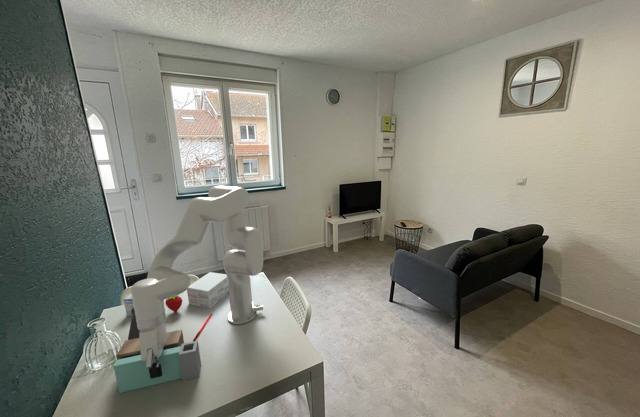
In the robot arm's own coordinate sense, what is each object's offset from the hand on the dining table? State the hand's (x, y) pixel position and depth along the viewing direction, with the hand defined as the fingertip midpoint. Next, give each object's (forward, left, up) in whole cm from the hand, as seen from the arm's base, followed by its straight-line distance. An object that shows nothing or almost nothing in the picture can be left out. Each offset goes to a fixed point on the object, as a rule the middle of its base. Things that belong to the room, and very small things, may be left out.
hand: (159, 367), depth 83 cm
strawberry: (+4, -41, -6) cm, 41 cm away
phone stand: (+13, -28, -6) cm, 31 cm away
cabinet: (+2, -6, -5) cm, 8 cm away
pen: (-9, -25, -6) cm, 27 cm away
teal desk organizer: (0, -1, -5) cm, 5 cm away
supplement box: (-10, -49, -6) cm, 51 cm away
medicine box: (+22, -48, -6) cm, 53 cm away
